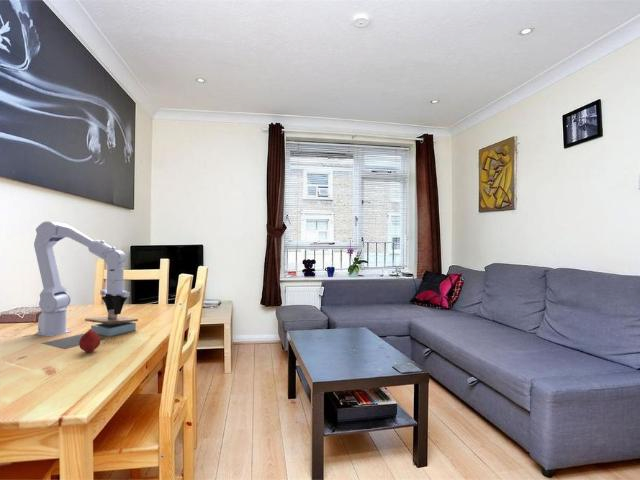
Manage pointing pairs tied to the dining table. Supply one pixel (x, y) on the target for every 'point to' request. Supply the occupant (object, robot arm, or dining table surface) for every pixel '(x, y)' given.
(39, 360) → the dining table surface
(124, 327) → the light blue tray
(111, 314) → the lid
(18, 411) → the dining table surface
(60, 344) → the mat
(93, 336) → the onion
